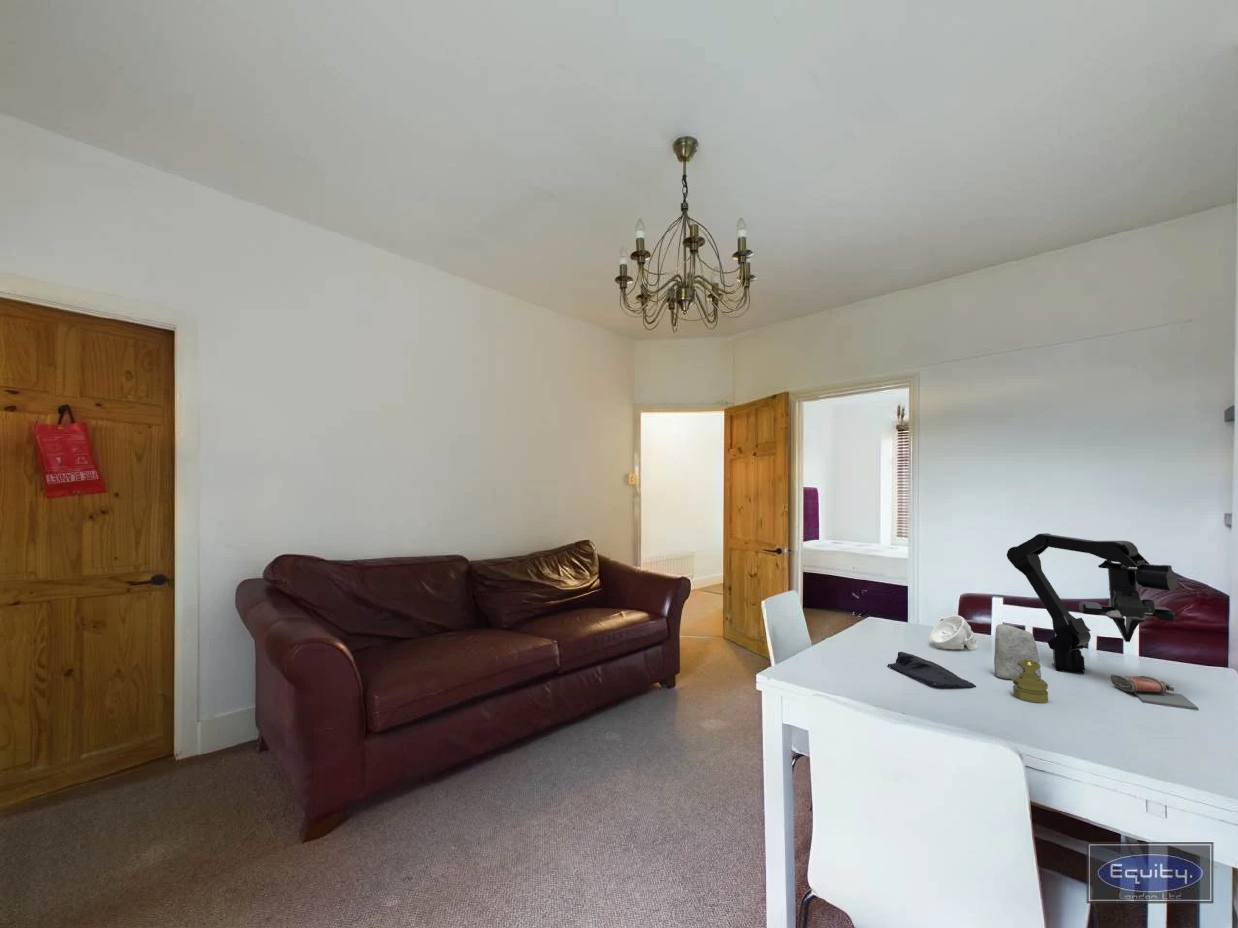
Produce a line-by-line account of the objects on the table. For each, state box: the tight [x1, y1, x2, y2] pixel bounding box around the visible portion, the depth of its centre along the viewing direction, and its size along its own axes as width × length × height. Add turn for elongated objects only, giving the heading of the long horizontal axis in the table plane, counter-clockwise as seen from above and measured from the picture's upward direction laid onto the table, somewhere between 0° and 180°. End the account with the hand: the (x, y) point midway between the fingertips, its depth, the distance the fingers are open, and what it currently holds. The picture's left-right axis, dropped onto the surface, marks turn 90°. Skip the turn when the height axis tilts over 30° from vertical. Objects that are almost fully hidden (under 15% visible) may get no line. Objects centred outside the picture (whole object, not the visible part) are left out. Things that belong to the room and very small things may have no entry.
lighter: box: [1110, 674, 1175, 693], centre depth 139 cm, size 8×3×10 cm
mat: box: [1132, 691, 1199, 711], centre depth 134 cm, size 10×10×1 cm
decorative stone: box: [993, 623, 1042, 680], centre depth 151 cm, size 11×6×15 cm, turn 65°
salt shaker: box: [1011, 659, 1049, 704], centre depth 137 cm, size 7×7×10 cm
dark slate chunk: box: [887, 651, 977, 689], centre depth 154 cm, size 15×22×5 cm
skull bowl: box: [929, 614, 979, 651], centre depth 180 cm, size 10×14×12 cm
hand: (1127, 641), depth 144 cm, fingers closed
